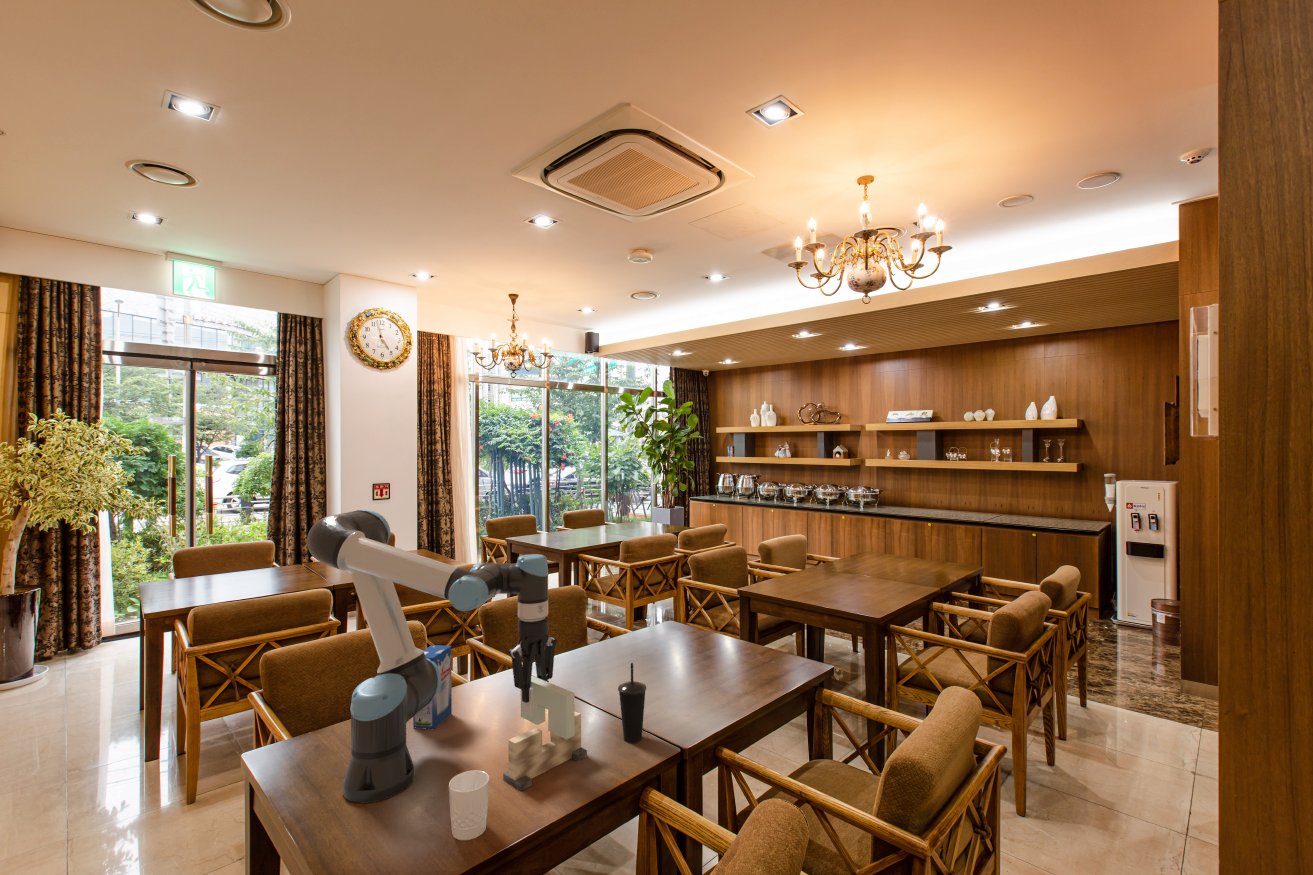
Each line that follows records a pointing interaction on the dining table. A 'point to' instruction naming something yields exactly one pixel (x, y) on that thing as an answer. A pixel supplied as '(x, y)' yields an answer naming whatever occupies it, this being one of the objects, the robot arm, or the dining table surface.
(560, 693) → the sage board
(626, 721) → the drinking cup
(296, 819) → the dining table surface
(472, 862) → the dining table surface
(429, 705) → the milk carton
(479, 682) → the dining table surface
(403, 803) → the dining table surface
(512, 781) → the maple board
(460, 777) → the white cup
